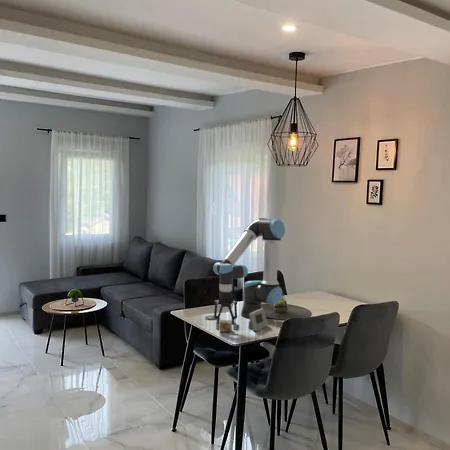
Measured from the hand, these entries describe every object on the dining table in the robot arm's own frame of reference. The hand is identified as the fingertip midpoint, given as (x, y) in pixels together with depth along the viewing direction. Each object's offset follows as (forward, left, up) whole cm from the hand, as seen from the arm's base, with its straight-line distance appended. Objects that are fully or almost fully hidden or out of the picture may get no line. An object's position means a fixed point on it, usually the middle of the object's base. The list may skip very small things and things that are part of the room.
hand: (225, 329), depth 266 cm
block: (0, -1, 0) cm, 1 cm away
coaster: (+10, -28, -1) cm, 30 cm away
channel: (0, -11, -1) cm, 11 cm away
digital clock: (-19, -9, -1) cm, 21 cm away
